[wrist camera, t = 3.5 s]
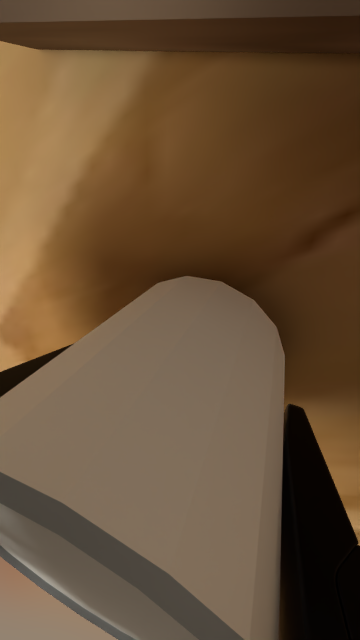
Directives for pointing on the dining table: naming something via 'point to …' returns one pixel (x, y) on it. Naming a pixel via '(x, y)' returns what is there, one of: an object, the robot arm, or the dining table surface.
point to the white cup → (154, 469)
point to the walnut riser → (184, 25)
